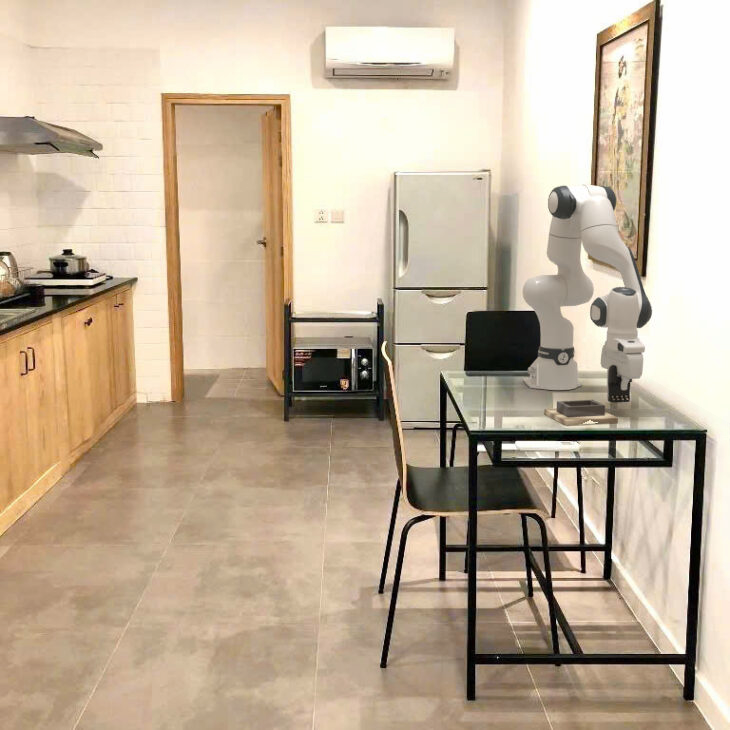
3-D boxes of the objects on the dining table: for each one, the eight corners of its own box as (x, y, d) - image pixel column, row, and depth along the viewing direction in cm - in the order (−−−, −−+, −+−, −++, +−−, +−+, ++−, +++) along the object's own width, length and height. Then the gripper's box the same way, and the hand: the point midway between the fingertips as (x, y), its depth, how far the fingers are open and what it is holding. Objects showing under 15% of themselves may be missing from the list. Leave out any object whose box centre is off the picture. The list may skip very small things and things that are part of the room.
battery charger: (610, 403, 269) (611, 365, 268) (605, 401, 273) (606, 364, 272) (633, 403, 270) (634, 365, 269) (627, 400, 274) (628, 363, 273)
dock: (544, 413, 273) (544, 399, 272) (593, 411, 276) (594, 396, 275) (565, 425, 258) (566, 410, 257) (617, 423, 261) (618, 407, 260)
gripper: (596, 337, 278) (594, 381, 281) (627, 348, 259) (625, 395, 261) (615, 336, 280) (613, 380, 282) (648, 347, 260) (645, 394, 262)
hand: (619, 387), depth 272 cm, fingers closed on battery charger, 3 cm apart
